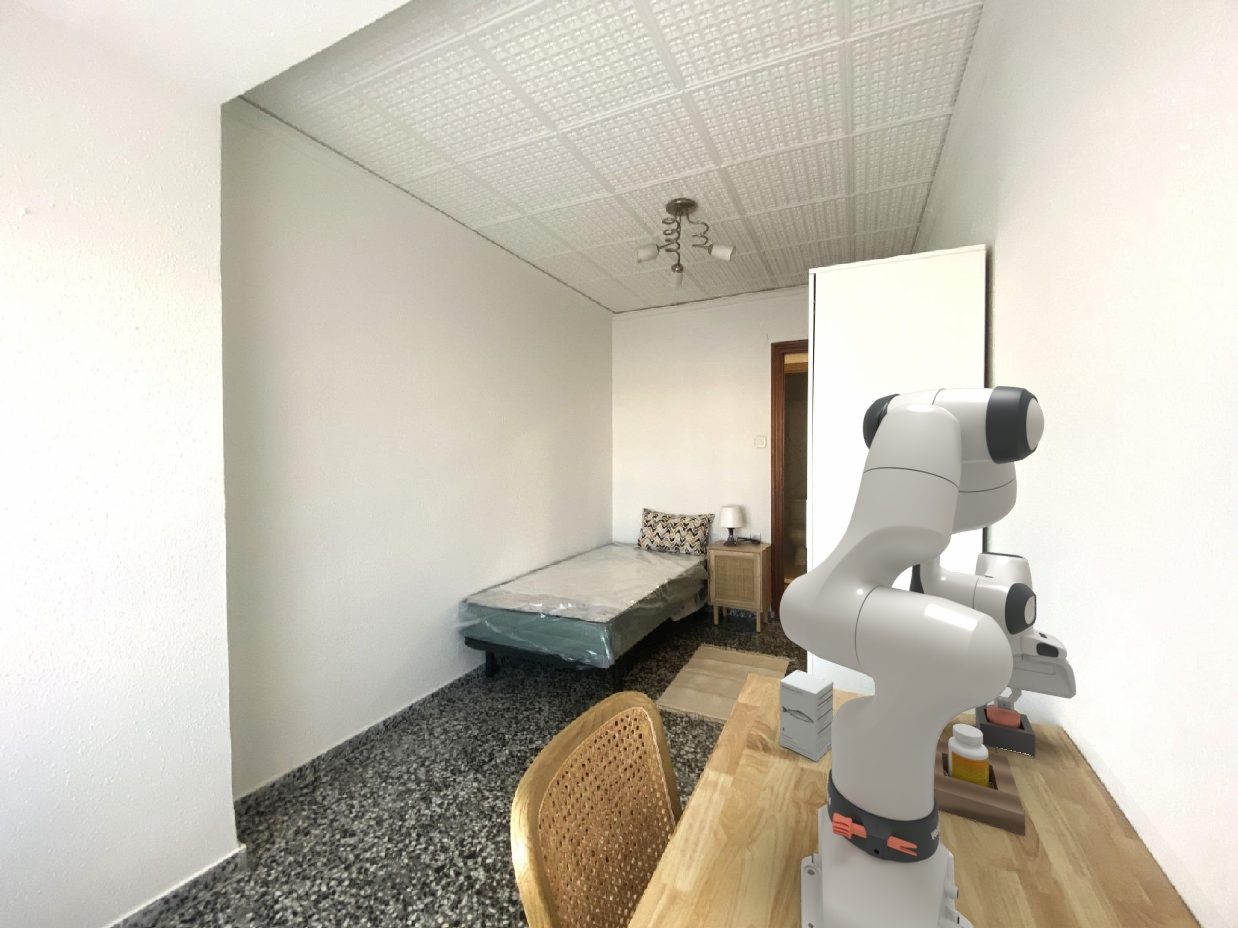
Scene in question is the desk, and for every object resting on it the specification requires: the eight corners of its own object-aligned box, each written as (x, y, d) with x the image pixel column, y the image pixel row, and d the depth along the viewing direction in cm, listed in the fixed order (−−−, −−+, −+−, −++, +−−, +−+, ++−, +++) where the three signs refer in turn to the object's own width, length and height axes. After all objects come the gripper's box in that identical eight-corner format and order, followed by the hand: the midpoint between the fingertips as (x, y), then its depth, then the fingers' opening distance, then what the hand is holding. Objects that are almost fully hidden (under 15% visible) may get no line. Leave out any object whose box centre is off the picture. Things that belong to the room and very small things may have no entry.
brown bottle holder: (1025, 835, 69) (1025, 815, 69) (926, 805, 75) (926, 786, 75) (1007, 772, 83) (1006, 755, 83) (924, 751, 89) (924, 735, 89)
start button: (1022, 736, 89) (1022, 720, 89) (988, 729, 92) (988, 713, 91) (1017, 723, 93) (1017, 708, 93) (985, 716, 96) (985, 701, 96)
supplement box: (778, 745, 92) (778, 679, 91) (797, 730, 96) (797, 667, 96) (816, 763, 86) (815, 693, 86) (834, 746, 91) (834, 680, 91)
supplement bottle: (996, 802, 76) (995, 740, 76) (958, 797, 77) (957, 737, 77) (978, 779, 81) (977, 722, 81) (942, 776, 82) (941, 719, 82)
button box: (1035, 757, 87) (1034, 735, 87) (980, 743, 91) (979, 722, 91) (1026, 735, 94) (1026, 714, 94) (975, 723, 98) (975, 704, 98)
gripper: (938, 631, 95) (939, 701, 95) (1078, 652, 84) (1079, 730, 84) (937, 622, 100) (938, 687, 101) (1069, 640, 90) (1069, 713, 90)
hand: (1003, 707), depth 92 cm, fingers closed
